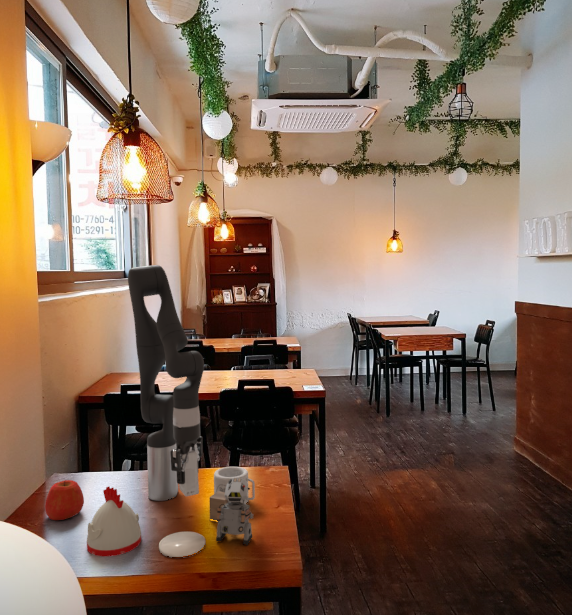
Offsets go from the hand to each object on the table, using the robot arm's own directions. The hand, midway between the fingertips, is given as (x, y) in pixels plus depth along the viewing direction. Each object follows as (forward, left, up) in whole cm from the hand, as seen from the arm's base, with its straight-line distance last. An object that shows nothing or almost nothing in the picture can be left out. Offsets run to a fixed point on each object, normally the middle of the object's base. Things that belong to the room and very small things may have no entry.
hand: (188, 478), depth 151 cm
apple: (+8, -38, -14) cm, 42 cm away
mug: (-18, +6, -14) cm, 24 cm away
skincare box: (0, 0, -4) cm, 4 cm away
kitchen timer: (+16, -13, -14) cm, 25 cm away
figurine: (+1, +16, -14) cm, 21 cm away
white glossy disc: (+11, +5, -14) cm, 18 cm away
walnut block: (-7, +7, -14) cm, 17 cm away
